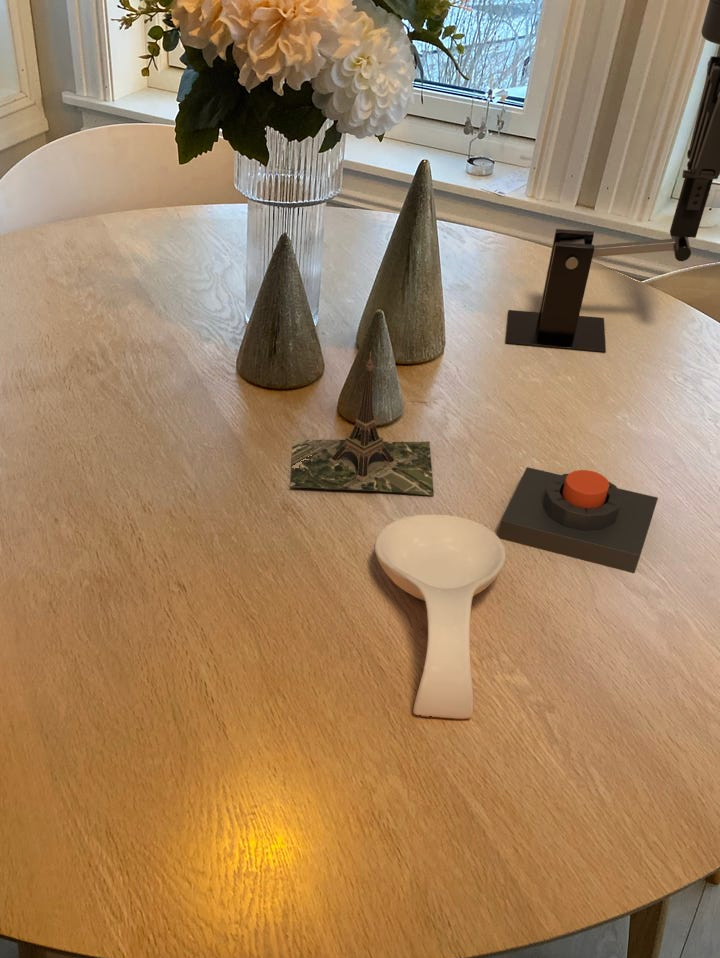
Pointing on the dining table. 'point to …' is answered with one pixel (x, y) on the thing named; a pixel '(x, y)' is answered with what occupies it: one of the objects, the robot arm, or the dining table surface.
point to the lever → (642, 247)
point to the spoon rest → (442, 597)
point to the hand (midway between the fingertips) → (682, 234)
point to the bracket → (561, 302)
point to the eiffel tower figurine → (363, 458)
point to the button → (585, 489)
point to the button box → (578, 522)
